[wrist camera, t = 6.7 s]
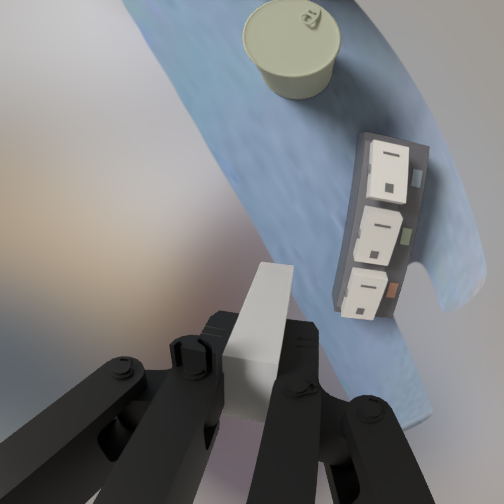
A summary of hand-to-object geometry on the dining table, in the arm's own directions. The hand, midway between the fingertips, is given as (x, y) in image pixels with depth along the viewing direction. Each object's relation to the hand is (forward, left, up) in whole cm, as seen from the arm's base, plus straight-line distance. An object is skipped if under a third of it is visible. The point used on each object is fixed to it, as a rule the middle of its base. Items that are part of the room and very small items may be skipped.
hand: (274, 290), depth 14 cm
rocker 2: (+1, +9, -19) cm, 21 cm away
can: (-18, -2, -26) cm, 32 cm away
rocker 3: (+8, +9, -19) cm, 22 cm away
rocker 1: (-6, +9, -19) cm, 22 cm away
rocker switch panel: (+1, +11, -26) cm, 28 cm away
